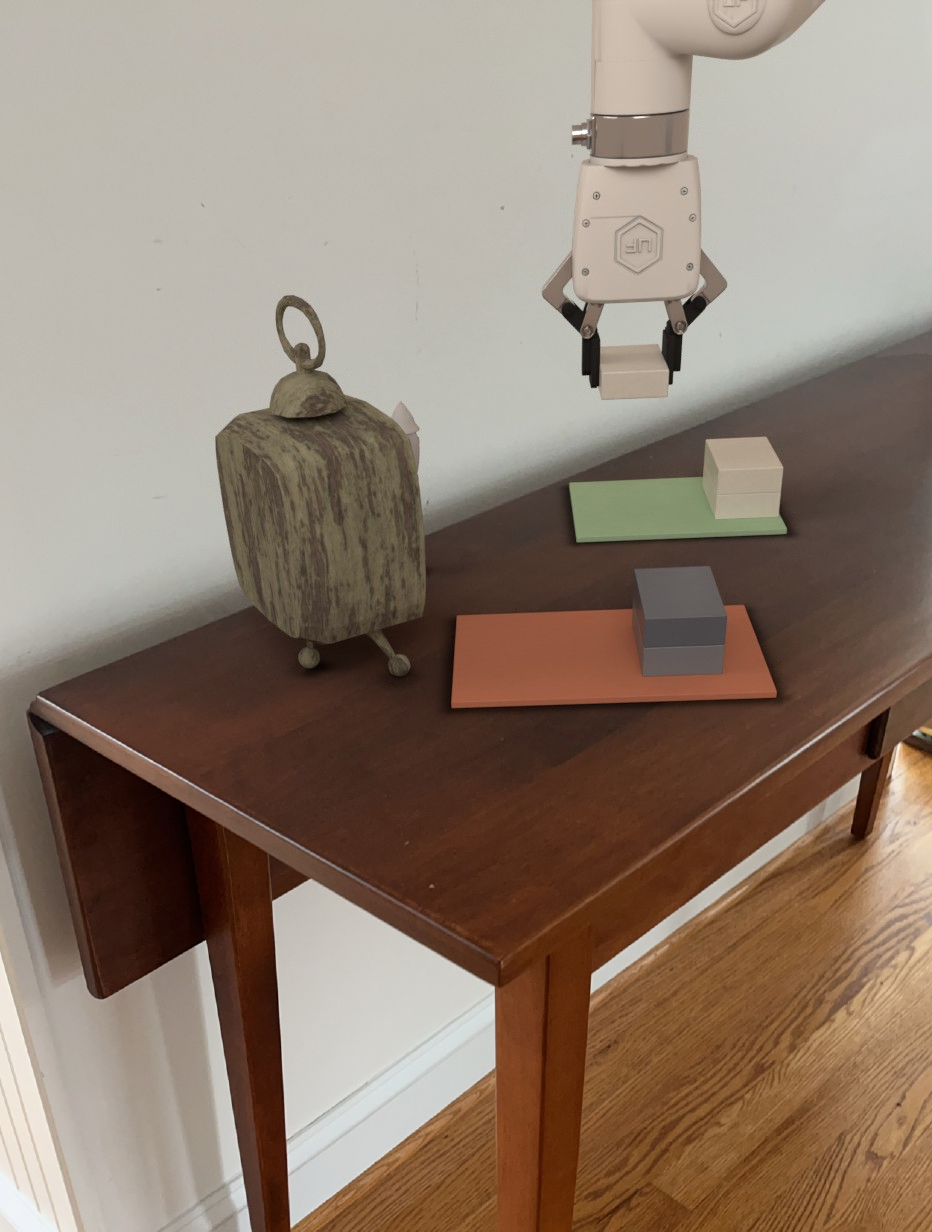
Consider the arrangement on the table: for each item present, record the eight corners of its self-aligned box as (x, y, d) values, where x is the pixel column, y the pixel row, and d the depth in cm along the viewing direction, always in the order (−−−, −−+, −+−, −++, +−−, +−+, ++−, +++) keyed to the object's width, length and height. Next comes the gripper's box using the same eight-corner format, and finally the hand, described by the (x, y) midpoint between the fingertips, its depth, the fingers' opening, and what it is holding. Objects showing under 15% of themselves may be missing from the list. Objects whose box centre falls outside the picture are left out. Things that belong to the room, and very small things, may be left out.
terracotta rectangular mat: (743, 610, 95) (744, 604, 95) (776, 698, 84) (777, 691, 84) (457, 621, 97) (456, 615, 97) (451, 708, 86) (451, 701, 85)
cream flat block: (657, 369, 110) (658, 343, 109) (668, 397, 103) (669, 369, 102) (594, 372, 110) (595, 346, 109) (601, 400, 104) (601, 372, 102)
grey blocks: (706, 621, 93) (710, 565, 91) (722, 674, 86) (727, 615, 84) (631, 624, 93) (633, 568, 91) (642, 676, 87) (645, 618, 84)
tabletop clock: (434, 680, 89) (408, 304, 74) (320, 716, 86) (269, 330, 71) (345, 611, 99) (307, 269, 85) (240, 641, 96) (182, 291, 81)
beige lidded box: (762, 483, 116) (766, 436, 113) (778, 517, 109) (783, 466, 106) (702, 486, 116) (705, 438, 114) (715, 519, 109) (718, 469, 107)
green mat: (759, 479, 118) (759, 474, 118) (786, 534, 107) (787, 528, 107) (569, 487, 120) (569, 482, 119) (576, 542, 108) (576, 537, 108)
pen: (392, 570, 106) (378, 400, 97) (421, 563, 106) (410, 394, 98) (404, 580, 104) (390, 407, 96) (433, 573, 105) (422, 402, 96)
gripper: (528, 150, 94) (530, 399, 104) (760, 138, 93) (738, 390, 103) (526, 138, 100) (528, 374, 110) (743, 126, 99) (725, 366, 109)
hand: (630, 379), depth 107 cm, fingers closed on cream flat block, 5 cm apart
